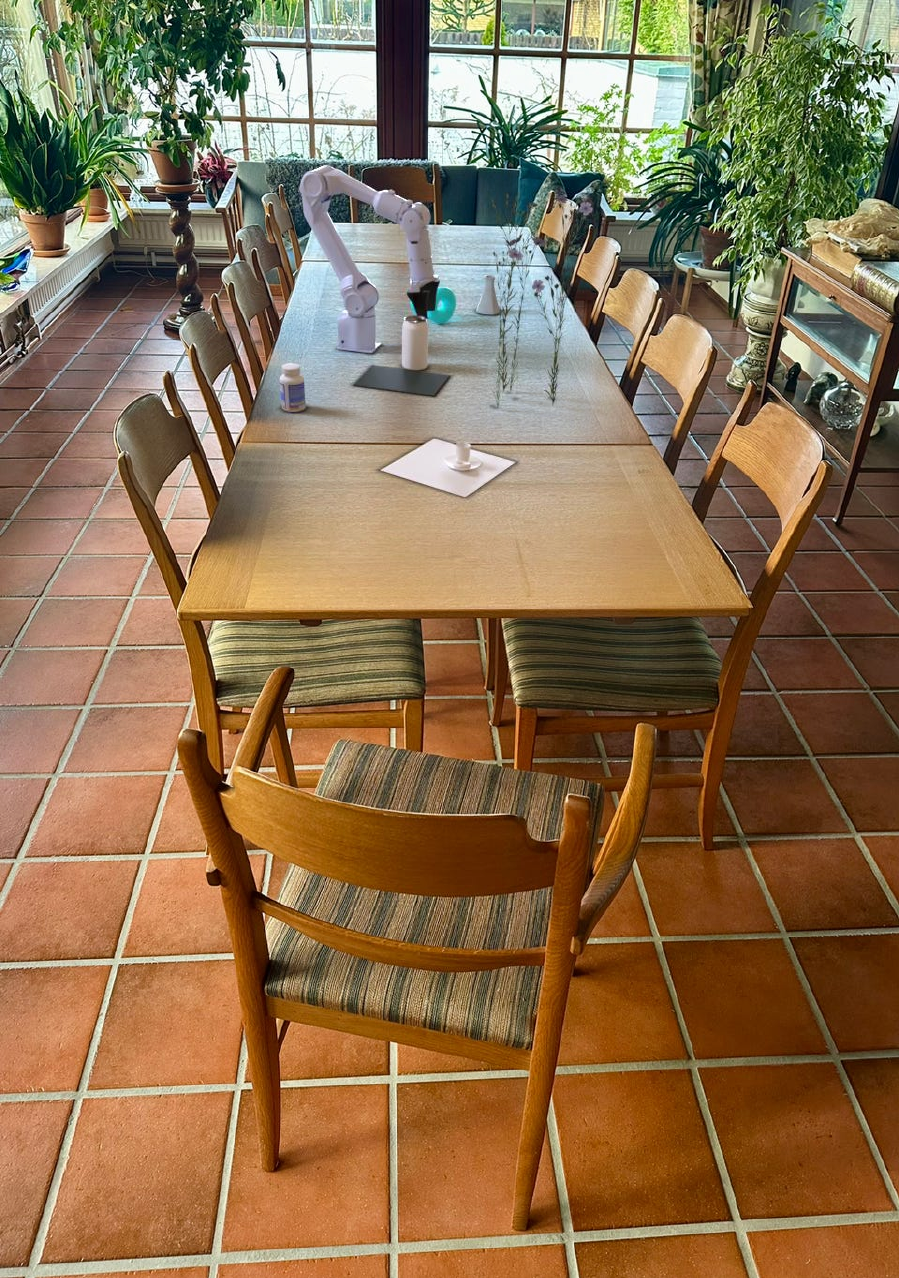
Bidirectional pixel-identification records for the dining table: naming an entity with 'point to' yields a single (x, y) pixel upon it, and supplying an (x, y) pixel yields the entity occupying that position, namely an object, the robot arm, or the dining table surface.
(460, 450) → the teacup and saucer
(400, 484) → the dining table surface
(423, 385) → the mat
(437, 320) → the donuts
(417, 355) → the can
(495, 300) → the flask
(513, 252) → the wildflower
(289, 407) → the pill bottle
